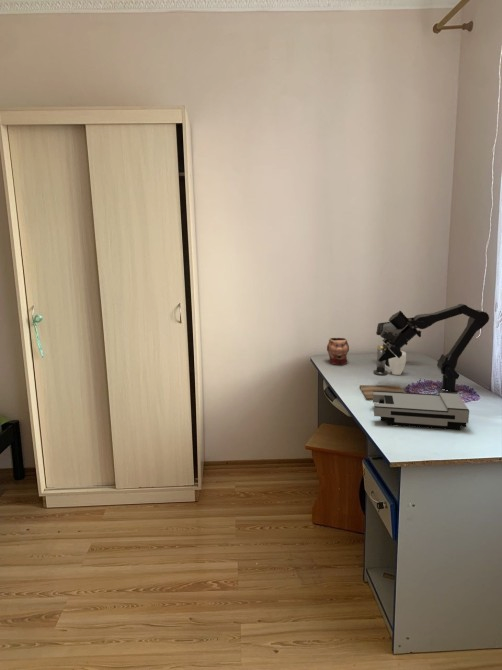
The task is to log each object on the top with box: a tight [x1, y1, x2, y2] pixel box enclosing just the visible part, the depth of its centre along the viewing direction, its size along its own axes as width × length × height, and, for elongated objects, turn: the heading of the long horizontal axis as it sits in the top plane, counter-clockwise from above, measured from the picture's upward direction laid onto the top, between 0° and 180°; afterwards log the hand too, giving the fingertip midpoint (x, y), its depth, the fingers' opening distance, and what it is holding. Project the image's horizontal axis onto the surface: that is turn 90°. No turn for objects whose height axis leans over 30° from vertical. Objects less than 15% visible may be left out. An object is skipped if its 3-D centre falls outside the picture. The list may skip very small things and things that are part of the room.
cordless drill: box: [375, 321, 418, 367], centre depth 254 cm, size 8×24×25 cm, turn 78°
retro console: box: [372, 391, 470, 431], centre depth 176 cm, size 21×32×8 cm, turn 77°
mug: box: [385, 350, 407, 376], centre depth 237 cm, size 12×8×11 cm
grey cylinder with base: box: [372, 345, 389, 377], centre depth 212 cm, size 6×6×13 cm
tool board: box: [359, 384, 406, 401], centre depth 205 cm, size 18×18×1 cm
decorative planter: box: [326, 337, 350, 365], centre depth 261 cm, size 20×12×14 cm, turn 2°
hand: (378, 359), depth 212 cm, fingers closed on grey cylinder with base, 4 cm apart
